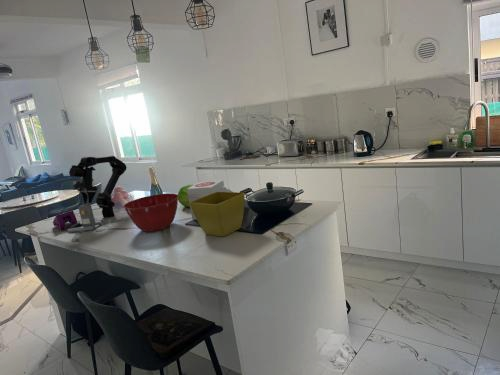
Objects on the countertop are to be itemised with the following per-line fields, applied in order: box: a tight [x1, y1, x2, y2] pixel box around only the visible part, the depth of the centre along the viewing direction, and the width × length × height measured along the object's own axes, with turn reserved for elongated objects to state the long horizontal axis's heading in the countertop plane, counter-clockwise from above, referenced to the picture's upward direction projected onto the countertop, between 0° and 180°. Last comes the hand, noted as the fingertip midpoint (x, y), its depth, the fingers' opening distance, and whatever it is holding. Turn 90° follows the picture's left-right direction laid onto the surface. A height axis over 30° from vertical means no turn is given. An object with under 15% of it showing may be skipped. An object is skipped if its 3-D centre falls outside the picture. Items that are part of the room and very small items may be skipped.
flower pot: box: [190, 191, 245, 237], centre depth 175 cm, size 19×19×17 cm
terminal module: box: [77, 203, 96, 227], centre depth 216 cm, size 5×6×13 cm
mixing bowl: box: [123, 193, 179, 233], centre depth 197 cm, size 28×28×16 cm
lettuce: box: [177, 184, 194, 208], centre depth 229 cm, size 15×22×15 cm
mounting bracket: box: [52, 210, 78, 231], centre depth 230 cm, size 10×9×19 cm
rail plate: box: [67, 220, 103, 234], centre depth 218 cm, size 16×10×3 cm, turn 81°
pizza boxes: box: [187, 180, 233, 221], centre depth 207 cm, size 19×30×18 cm, turn 139°
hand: (87, 203), depth 225 cm, fingers open, 9 cm apart
